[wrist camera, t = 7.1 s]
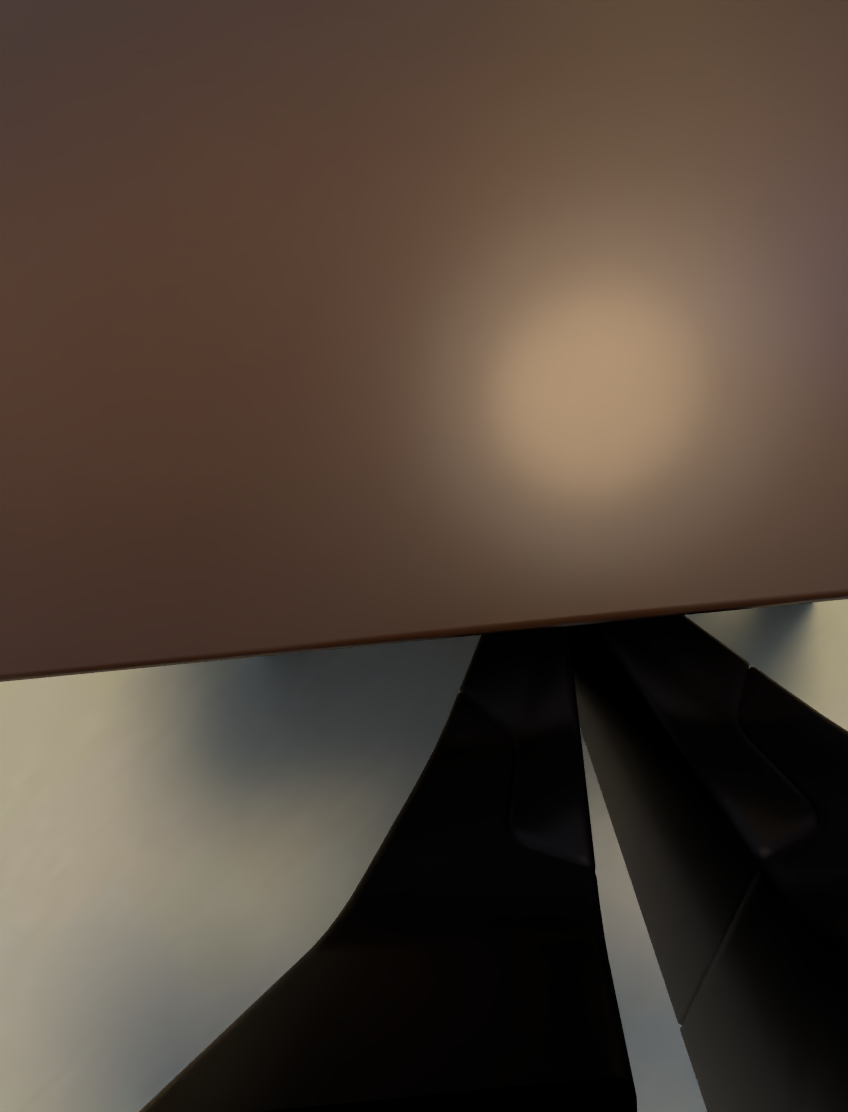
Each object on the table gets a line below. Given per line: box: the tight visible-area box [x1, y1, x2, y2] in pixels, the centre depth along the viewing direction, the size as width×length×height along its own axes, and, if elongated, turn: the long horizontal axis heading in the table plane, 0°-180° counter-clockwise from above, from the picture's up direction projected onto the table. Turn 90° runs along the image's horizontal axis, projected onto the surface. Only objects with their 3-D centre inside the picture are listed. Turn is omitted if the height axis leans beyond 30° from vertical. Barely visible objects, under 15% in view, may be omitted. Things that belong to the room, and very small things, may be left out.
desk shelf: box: [0, 0, 848, 682], centre depth 10 cm, size 12×15×11 cm
